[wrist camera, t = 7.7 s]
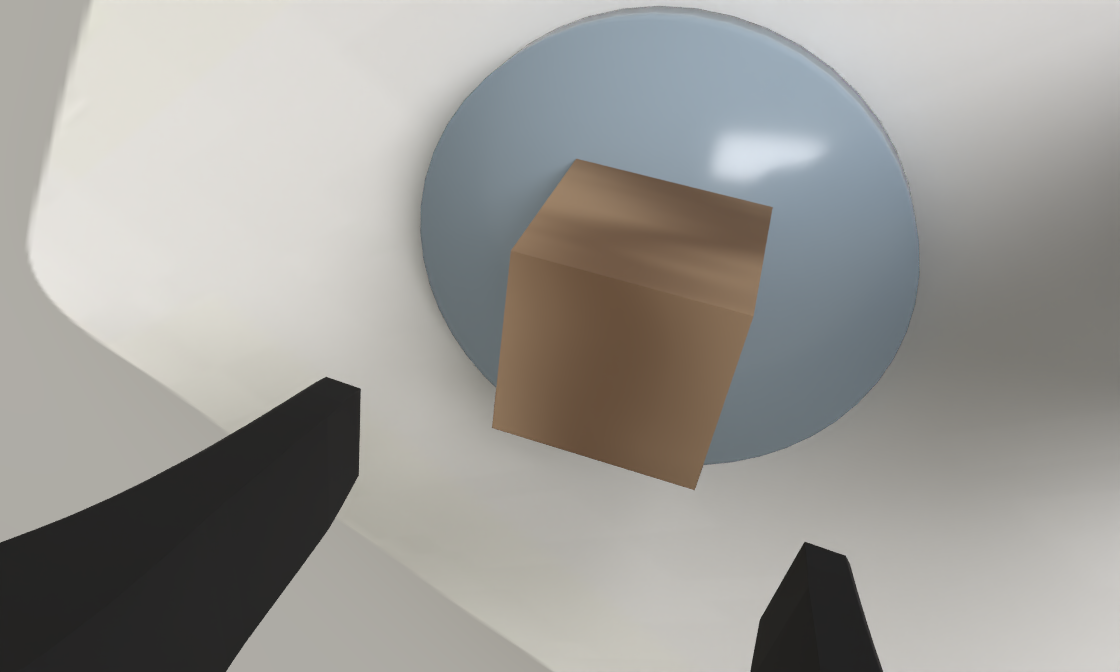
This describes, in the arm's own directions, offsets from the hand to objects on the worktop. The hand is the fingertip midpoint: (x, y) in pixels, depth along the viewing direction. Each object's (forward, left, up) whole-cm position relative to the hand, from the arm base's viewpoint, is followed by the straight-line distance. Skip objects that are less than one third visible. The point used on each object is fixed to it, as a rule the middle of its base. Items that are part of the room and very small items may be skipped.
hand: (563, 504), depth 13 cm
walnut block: (0, 0, -8) cm, 8 cm away
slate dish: (0, +1, -9) cm, 9 cm away
